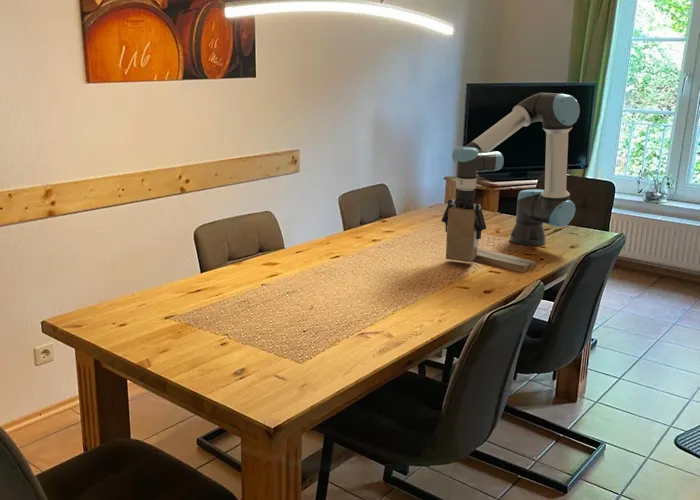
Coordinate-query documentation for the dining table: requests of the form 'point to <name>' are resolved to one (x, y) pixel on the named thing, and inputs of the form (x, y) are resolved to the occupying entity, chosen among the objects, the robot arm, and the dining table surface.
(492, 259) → the curved panel
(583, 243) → the dining table surface
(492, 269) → the dining table surface
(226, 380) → the dining table surface
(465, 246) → the wooden block
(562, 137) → the robot arm
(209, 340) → the dining table surface
